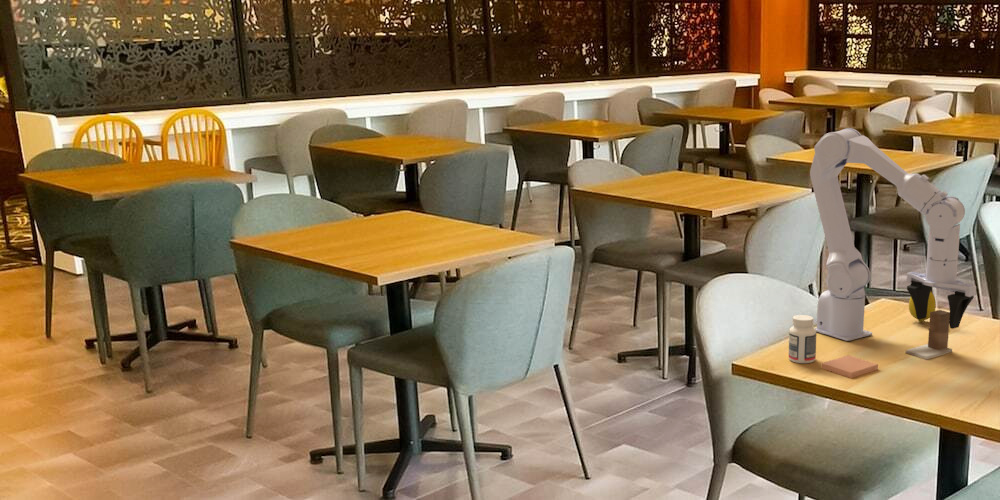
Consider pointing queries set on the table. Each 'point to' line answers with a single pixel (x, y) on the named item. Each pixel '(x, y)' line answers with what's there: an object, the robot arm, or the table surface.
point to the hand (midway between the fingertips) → (937, 322)
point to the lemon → (930, 308)
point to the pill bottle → (802, 340)
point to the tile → (849, 366)
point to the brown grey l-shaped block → (935, 337)
